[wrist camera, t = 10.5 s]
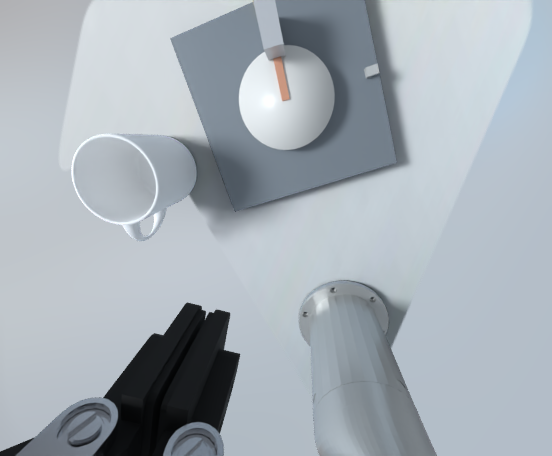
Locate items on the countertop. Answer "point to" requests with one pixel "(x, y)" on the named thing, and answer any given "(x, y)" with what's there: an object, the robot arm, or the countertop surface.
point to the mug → (132, 178)
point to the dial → (284, 89)
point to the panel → (347, 104)
